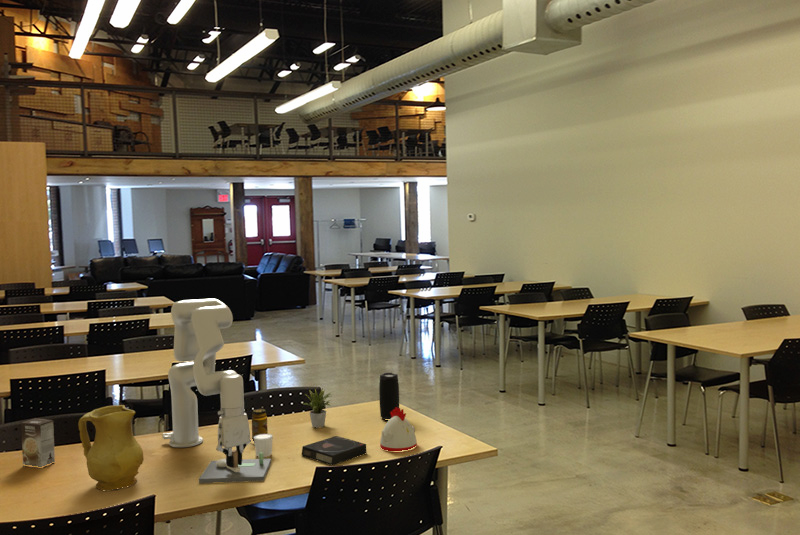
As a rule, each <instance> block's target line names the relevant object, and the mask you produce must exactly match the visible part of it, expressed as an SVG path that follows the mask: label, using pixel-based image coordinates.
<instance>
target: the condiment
mask: <svg viewBox="0 0 800 535" xmlns="http://www.w3.org/2000/svg"><path fill="white" fill-rule="evenodd" d="M251 413H252V414H251V416H252V417H251V437H252V439H253V441H254V436H256V435H259V434H269V433H268V430H269V429H268V416H267V410H266V409H264V408H257V409H254V410H252V412H251Z"/></svg>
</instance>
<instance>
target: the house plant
mask: <svg viewBox="0 0 800 535" xmlns="http://www.w3.org/2000/svg"><path fill="white" fill-rule="evenodd" d="M325 391H326V389H323V388H321V389H320V392H319V393H318V392H317V389H316V388H314V392H315V393H314V392H313V391H311V389H309V394H310V395H308V394H306V393H304V395H305V396H306V398H308V400H309V401H310V402H309V403H308V402H304V403H302V405H307V406H310V407H311V408H312V410H310V411H309V417H310V421H311V422H310V423H311V427H312V428H313V427H316V428H317V429H320V428H319V427H321V428H324V427H325V426H326V425H325V423H326V416H327V410H325V409H324V408H325V407H326V406H329V407H331V404H330V401H331V399H330V400H327V398H329V397H331V396H332V394H333V392H335V391H331V392H328V393H327V394H325ZM326 400H327V401H326ZM323 426H324V427H323ZM316 428H315V429H316Z"/></svg>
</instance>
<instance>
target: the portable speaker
mask: <svg viewBox="0 0 800 535" xmlns="http://www.w3.org/2000/svg"><path fill="white" fill-rule="evenodd" d="M398 377H399V375H398V374H397V373H392V372H383V373H382V374H380V375H379V387H378V388H379V390H378V391H379V393H378V394H379V396H378V397H379V399H378V400H379V411H380V412H379V414H380V418H381V417H382V418H383V420H384V419H391V418H392V417H391V414H390V412H393V409H395V407H398V408H400V386H399V385H400V383H399V378H398Z"/></svg>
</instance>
